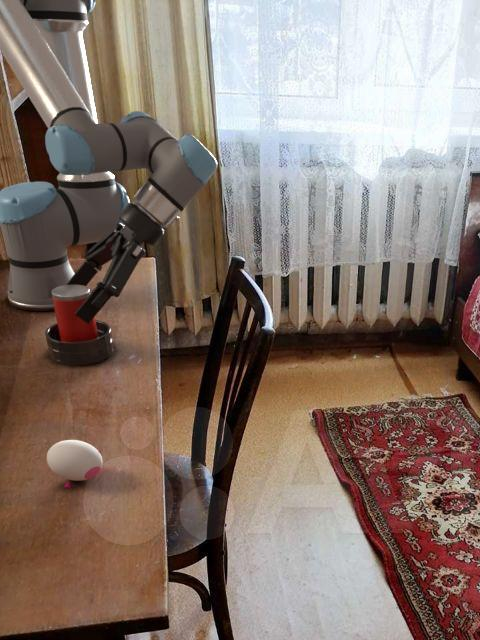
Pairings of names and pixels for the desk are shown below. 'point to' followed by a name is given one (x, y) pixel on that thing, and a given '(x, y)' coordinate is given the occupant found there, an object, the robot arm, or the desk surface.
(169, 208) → the robot arm
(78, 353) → the skillet
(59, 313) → the tomato can
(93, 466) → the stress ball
